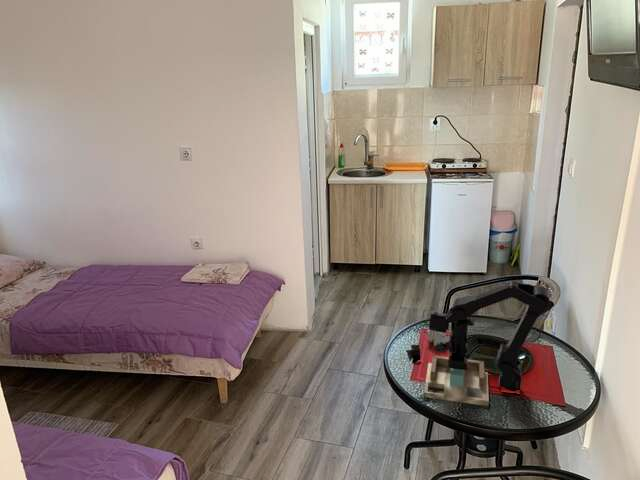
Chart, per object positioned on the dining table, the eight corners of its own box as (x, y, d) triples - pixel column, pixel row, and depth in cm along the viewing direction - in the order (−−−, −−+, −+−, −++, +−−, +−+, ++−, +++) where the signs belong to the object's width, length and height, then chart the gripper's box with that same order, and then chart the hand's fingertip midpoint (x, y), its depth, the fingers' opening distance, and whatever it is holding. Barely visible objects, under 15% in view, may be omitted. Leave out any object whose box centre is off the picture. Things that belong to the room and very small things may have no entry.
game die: (439, 349, 206) (455, 331, 203) (433, 352, 198) (449, 334, 195) (423, 333, 209) (439, 316, 206) (416, 335, 202) (432, 318, 199)
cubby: (483, 369, 181) (483, 361, 180) (483, 386, 172) (484, 378, 171) (432, 363, 186) (432, 355, 185) (430, 379, 177) (430, 371, 176)
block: (463, 379, 176) (464, 368, 175) (463, 387, 172) (463, 376, 171) (450, 377, 177) (450, 367, 176) (449, 385, 173) (450, 374, 172)
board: (487, 374, 182) (487, 369, 181) (488, 406, 165) (488, 400, 165) (428, 367, 187) (428, 362, 187) (423, 397, 171) (424, 391, 171)
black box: (427, 366, 189) (427, 355, 188) (408, 367, 189) (408, 356, 188) (421, 348, 201) (421, 338, 199) (403, 349, 201) (403, 339, 200)
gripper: (437, 318, 184) (436, 355, 190) (433, 345, 168) (432, 384, 173) (468, 321, 181) (466, 358, 187) (468, 348, 165) (465, 388, 170)
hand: (457, 371), depth 179 cm, fingers closed
